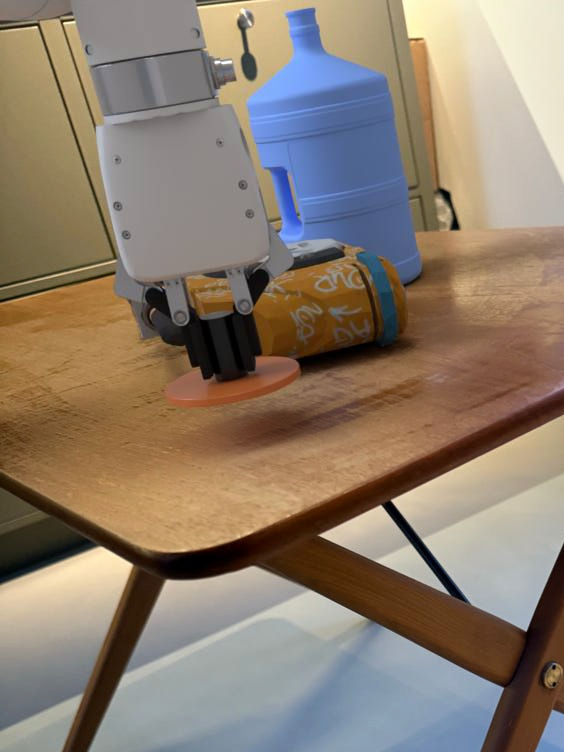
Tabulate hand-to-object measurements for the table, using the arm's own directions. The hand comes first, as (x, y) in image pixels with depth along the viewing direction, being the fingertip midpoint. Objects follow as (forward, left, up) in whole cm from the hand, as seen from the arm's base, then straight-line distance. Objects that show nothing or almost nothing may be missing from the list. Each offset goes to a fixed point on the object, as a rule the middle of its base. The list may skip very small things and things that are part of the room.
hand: (229, 368), depth 76 cm
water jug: (+11, +49, -5) cm, 50 cm away
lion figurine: (-12, +47, -5) cm, 48 cm away
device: (+1, +27, -5) cm, 27 cm away
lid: (0, 0, -1) cm, 1 cm away
